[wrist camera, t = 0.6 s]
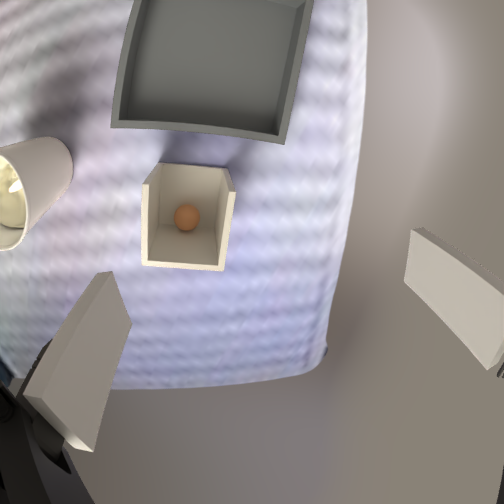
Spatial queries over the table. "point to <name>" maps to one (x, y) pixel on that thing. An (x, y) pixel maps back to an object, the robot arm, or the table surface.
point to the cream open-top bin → (169, 200)
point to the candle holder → (30, 184)
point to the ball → (186, 217)
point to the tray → (211, 66)
